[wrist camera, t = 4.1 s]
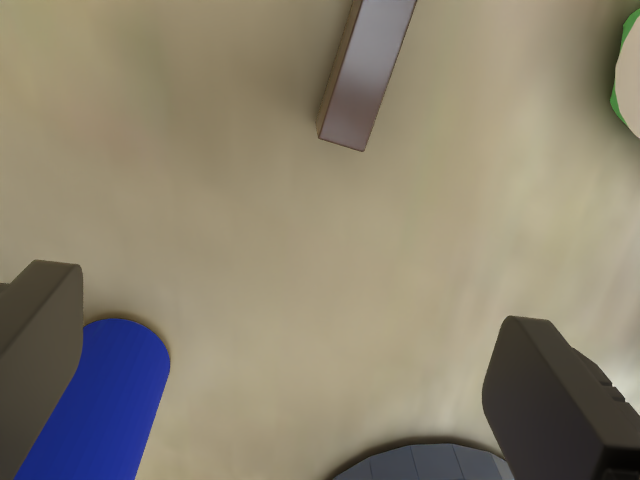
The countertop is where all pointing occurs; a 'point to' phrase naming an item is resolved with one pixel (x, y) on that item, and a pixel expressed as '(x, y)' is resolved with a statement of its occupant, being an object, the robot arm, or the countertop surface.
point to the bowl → (430, 464)
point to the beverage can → (103, 407)
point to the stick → (362, 70)
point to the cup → (628, 76)
